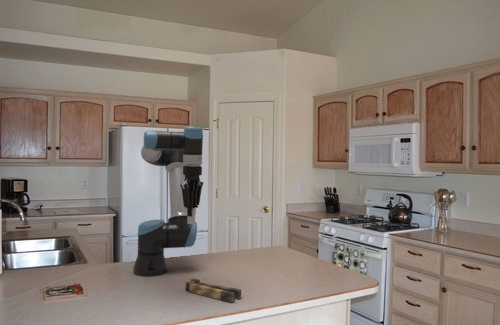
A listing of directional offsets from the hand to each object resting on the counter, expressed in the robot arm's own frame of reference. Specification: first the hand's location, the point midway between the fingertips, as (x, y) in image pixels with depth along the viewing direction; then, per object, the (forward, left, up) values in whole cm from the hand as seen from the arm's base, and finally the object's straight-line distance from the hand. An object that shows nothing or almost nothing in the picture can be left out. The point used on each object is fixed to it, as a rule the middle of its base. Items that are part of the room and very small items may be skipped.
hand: (191, 223), depth 160 cm
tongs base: (+12, -2, -26) cm, 28 cm away
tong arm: (+12, -5, -26) cm, 29 cm away
